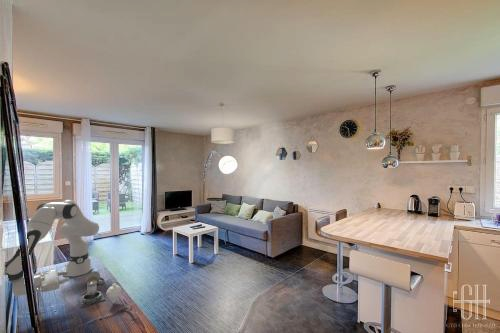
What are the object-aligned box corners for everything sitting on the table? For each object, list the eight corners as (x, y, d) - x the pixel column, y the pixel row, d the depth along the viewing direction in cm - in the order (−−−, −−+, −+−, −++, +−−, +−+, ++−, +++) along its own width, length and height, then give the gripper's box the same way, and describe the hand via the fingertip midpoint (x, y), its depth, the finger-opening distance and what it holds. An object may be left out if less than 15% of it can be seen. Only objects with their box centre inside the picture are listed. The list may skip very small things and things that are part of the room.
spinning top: (107, 301, 140) (107, 281, 140) (121, 298, 143) (122, 279, 143) (104, 308, 133) (105, 288, 133) (119, 305, 136) (120, 285, 136)
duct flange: (78, 299, 141) (78, 294, 141) (100, 292, 149) (101, 288, 149) (81, 308, 132) (81, 303, 132) (105, 300, 141) (105, 296, 141)
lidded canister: (85, 298, 141) (86, 282, 141) (95, 295, 144) (96, 279, 145) (87, 302, 137) (87, 285, 137) (97, 298, 141) (97, 282, 141)
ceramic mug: (85, 288, 153) (86, 277, 153) (86, 283, 160) (87, 272, 160) (104, 284, 159) (105, 273, 159) (104, 279, 166) (105, 269, 166)
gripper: (36, 286, 117) (70, 277, 127) (36, 271, 132) (66, 264, 142) (36, 298, 118) (70, 288, 127) (36, 281, 132) (66, 274, 142)
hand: (68, 275), depth 135 cm, fingers open, 8 cm apart
